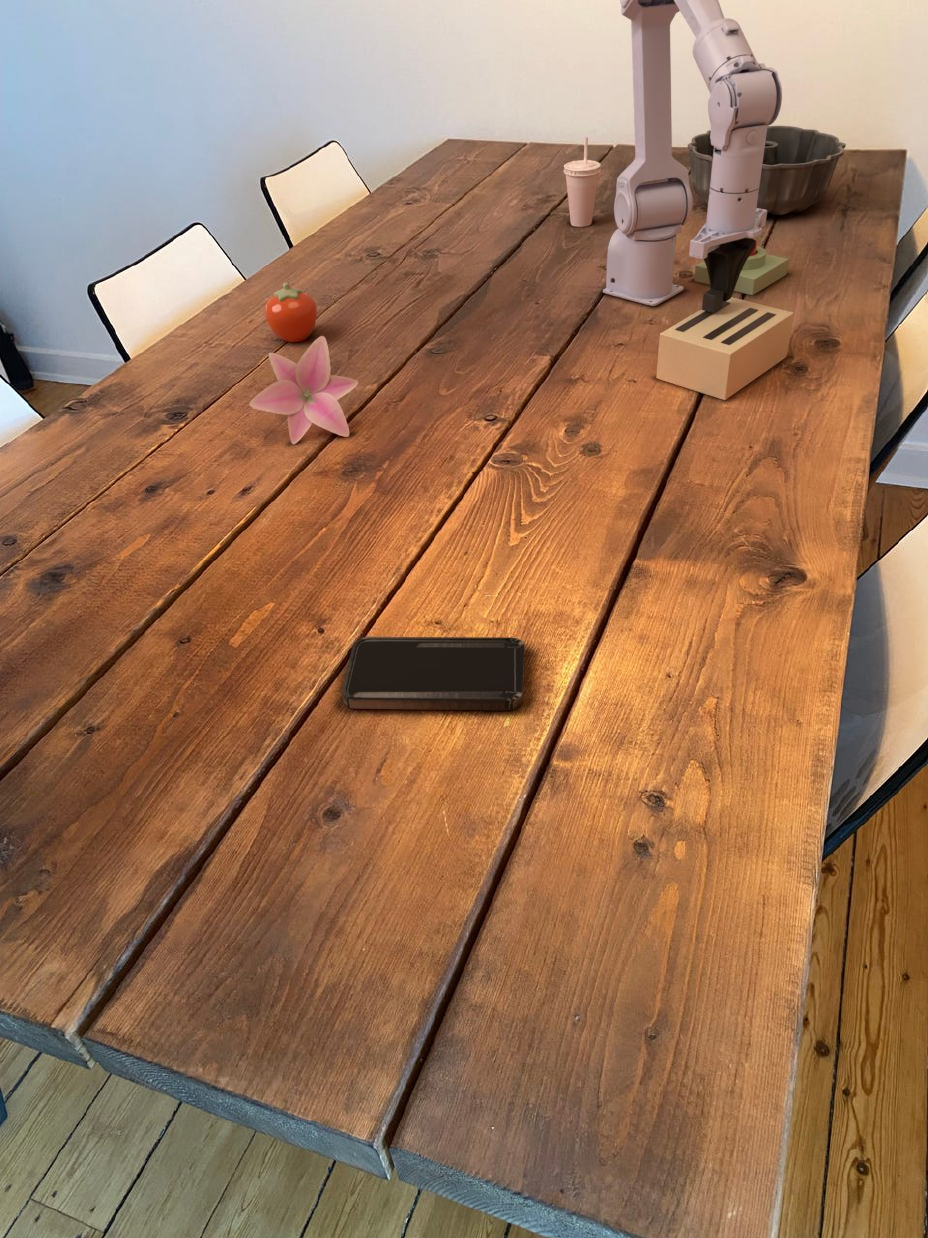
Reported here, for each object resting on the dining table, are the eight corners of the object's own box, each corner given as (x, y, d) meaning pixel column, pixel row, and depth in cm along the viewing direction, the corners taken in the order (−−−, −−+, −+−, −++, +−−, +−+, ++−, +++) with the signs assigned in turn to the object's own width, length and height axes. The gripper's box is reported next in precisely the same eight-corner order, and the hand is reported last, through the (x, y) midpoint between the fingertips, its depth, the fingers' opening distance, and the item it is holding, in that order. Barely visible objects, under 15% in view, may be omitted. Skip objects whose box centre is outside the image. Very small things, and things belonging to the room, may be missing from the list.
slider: (701, 309, 121) (703, 292, 119) (709, 304, 122) (711, 287, 121) (713, 313, 120) (715, 296, 118) (722, 307, 121) (724, 291, 120)
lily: (245, 446, 116) (243, 399, 107) (272, 371, 121) (272, 321, 112) (340, 472, 117) (346, 428, 108) (364, 397, 122) (371, 349, 113)
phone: (522, 701, 76) (339, 698, 78) (522, 710, 77) (341, 708, 78) (524, 636, 82) (355, 635, 84) (524, 646, 83) (356, 645, 84)
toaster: (655, 378, 121) (659, 332, 117) (719, 338, 129) (724, 294, 125) (724, 400, 115) (730, 353, 111) (786, 356, 123) (794, 311, 119)
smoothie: (597, 229, 165) (600, 142, 156) (560, 228, 166) (561, 142, 157) (600, 217, 170) (603, 132, 161) (565, 217, 171) (566, 132, 162)
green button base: (693, 281, 145) (696, 254, 142) (728, 261, 150) (731, 235, 147) (752, 295, 139) (756, 268, 137) (786, 274, 145) (790, 247, 142)
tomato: (330, 329, 139) (322, 275, 133) (303, 350, 134) (293, 295, 128) (288, 323, 141) (278, 270, 136) (260, 344, 136) (248, 289, 131)
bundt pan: (852, 189, 173) (864, 130, 167) (808, 234, 157) (819, 170, 150) (714, 175, 185) (720, 118, 179) (660, 215, 169) (664, 155, 162)
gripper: (731, 208, 107) (718, 324, 115) (795, 175, 114) (778, 287, 123) (678, 198, 111) (669, 311, 119) (743, 167, 118) (730, 275, 127)
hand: (721, 298), depth 122 cm, fingers closed
